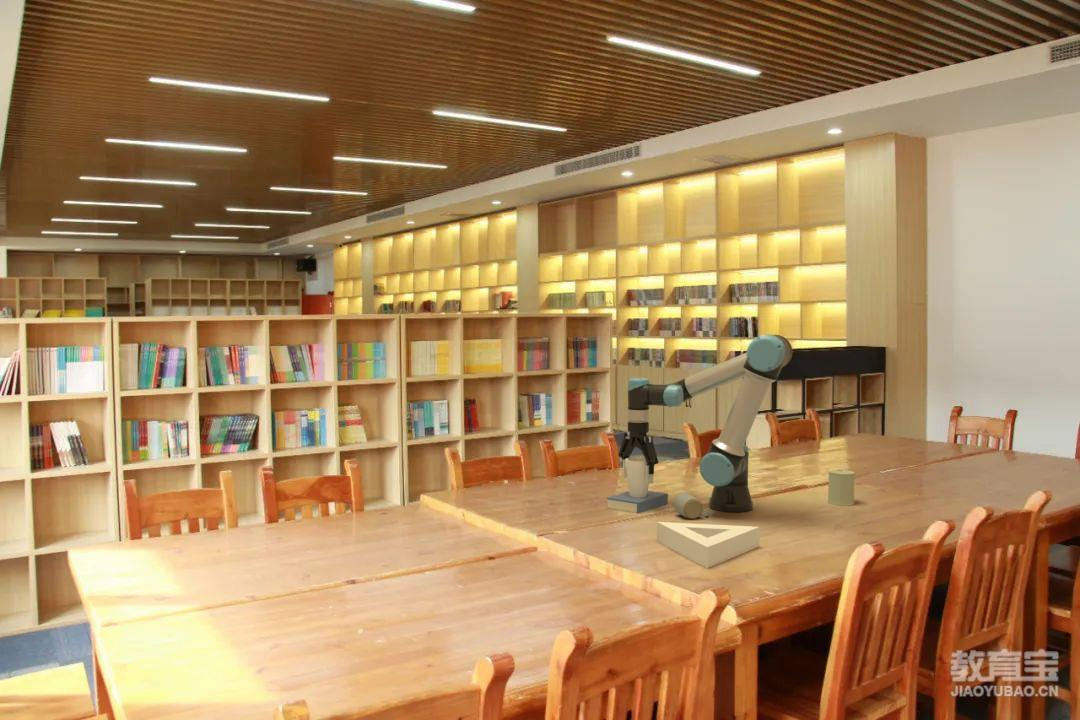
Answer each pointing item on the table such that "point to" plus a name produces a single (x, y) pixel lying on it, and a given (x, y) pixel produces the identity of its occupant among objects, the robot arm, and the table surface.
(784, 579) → the table surface
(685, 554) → the triangle block
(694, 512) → the ceramic mug
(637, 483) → the foam cup
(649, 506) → the book
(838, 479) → the can
